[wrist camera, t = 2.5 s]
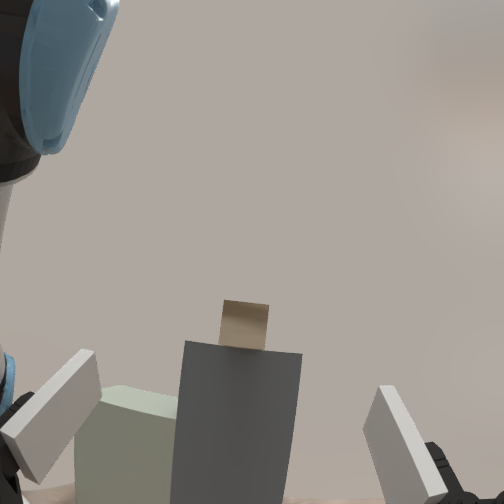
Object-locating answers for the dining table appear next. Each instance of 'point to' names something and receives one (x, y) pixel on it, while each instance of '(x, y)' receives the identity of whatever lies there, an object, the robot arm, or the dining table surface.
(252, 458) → the two-tone stepped block
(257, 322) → the wooden bar
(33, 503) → the dining table surface
